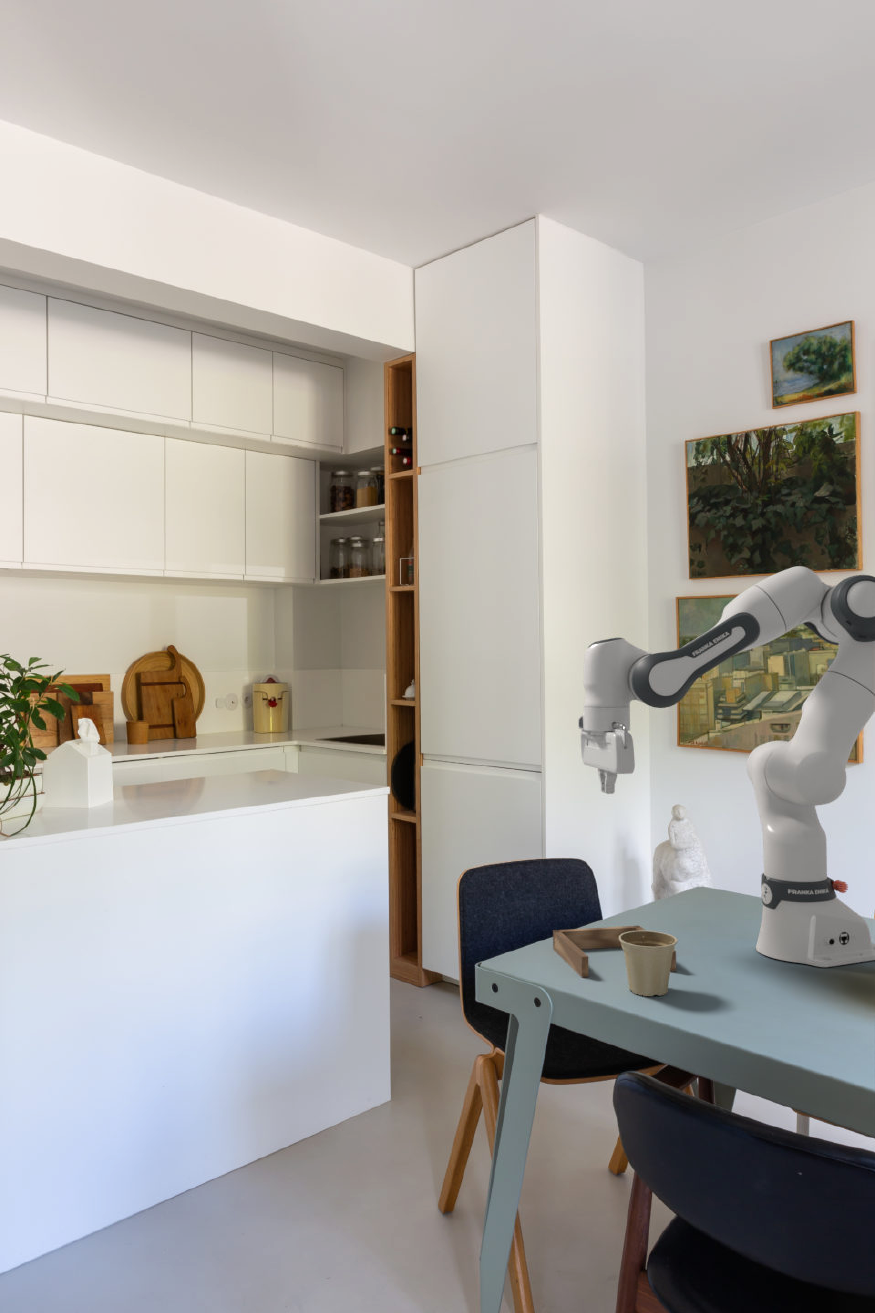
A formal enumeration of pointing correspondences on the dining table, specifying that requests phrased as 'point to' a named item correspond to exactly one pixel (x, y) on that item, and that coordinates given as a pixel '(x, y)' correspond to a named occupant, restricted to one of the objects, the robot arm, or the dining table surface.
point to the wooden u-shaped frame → (590, 944)
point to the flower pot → (648, 960)
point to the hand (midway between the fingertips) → (607, 793)
